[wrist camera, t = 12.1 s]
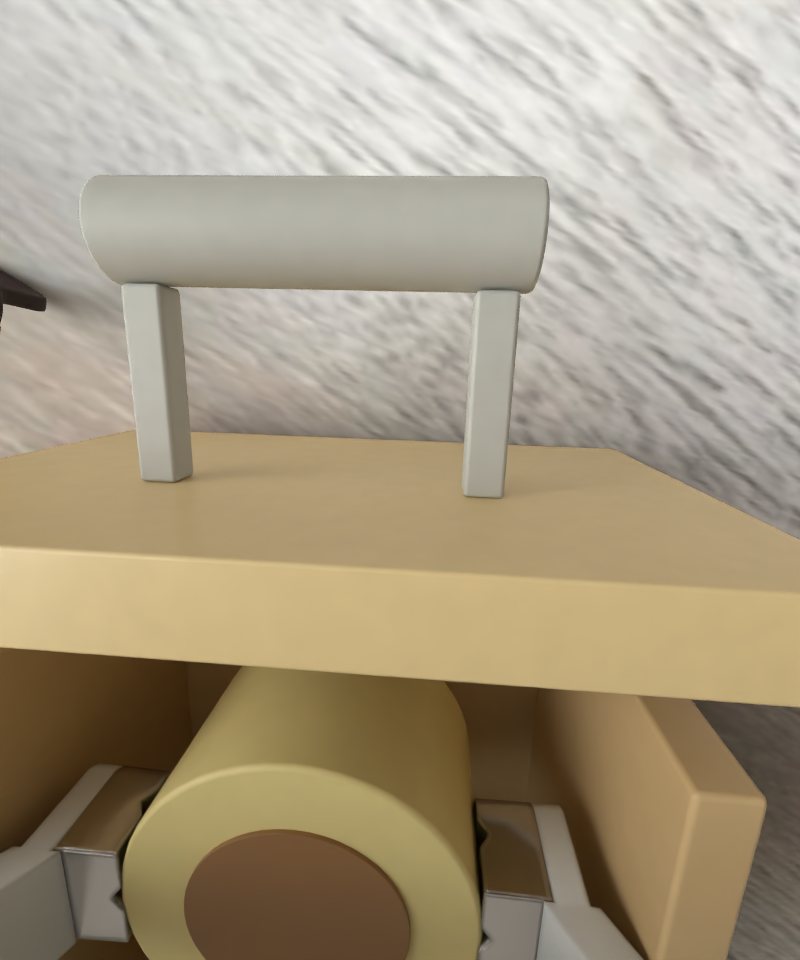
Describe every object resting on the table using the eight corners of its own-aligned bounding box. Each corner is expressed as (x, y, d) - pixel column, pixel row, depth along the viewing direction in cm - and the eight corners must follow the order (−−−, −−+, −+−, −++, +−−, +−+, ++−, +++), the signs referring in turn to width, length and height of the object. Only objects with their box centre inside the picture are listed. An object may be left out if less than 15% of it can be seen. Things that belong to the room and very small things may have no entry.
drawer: (116, 253, 12) (-492, 44, 4) (640, 261, 11) (1124, 16, 3) (180, 855, 16) (-49, 1291, 9) (552, 894, 15) (665, 1415, 8)
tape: (213, 618, 10) (94, 754, 7) (477, 637, 10) (498, 791, 6) (228, 827, 11) (135, 1031, 8) (460, 850, 11) (471, 1076, 7)
